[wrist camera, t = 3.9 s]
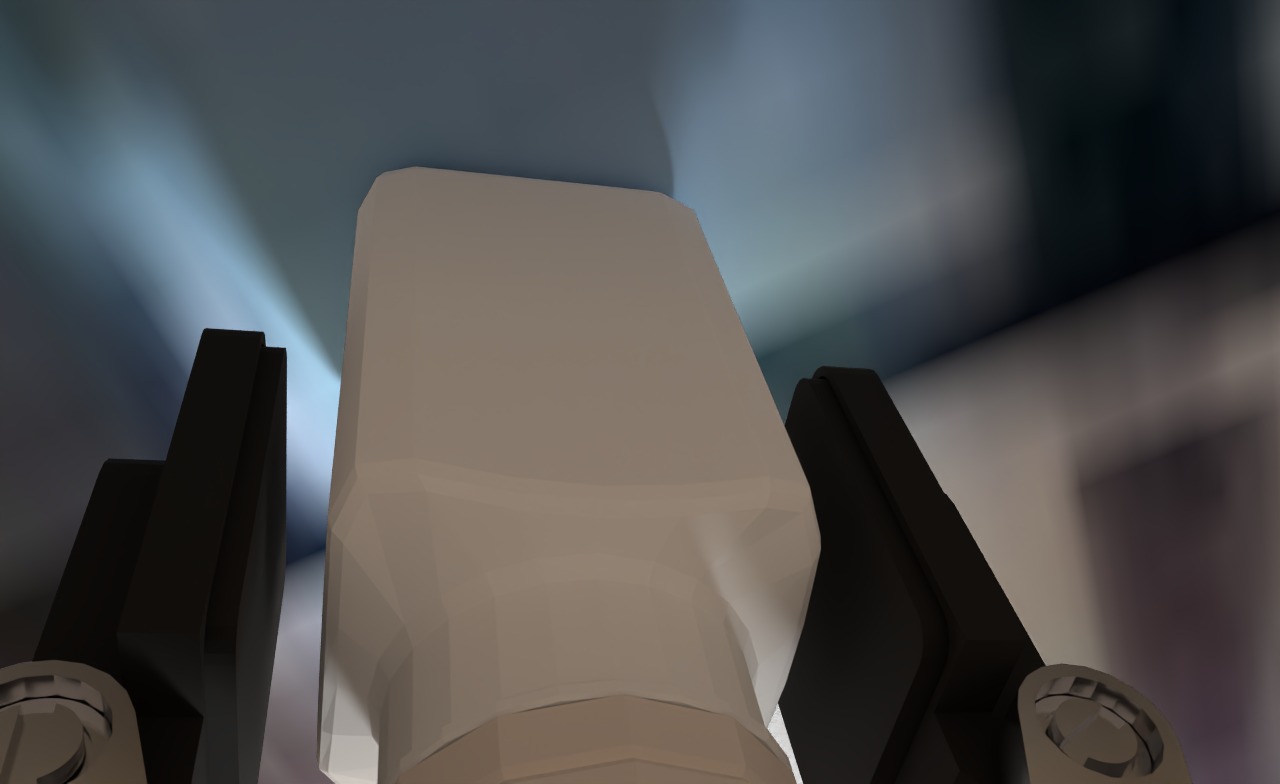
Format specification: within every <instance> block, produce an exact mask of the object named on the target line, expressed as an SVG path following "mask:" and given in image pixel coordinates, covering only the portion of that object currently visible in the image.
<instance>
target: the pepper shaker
mask: <svg viewBox="0 0 1280 784" xmlns="http://www.w3.org/2000/svg"><path fill="white" fill-rule="evenodd" d="M820 551H821V537H820V531H819V527H818V522H817V518H816V513H815V509H814V504H813V500H812V495H811V491H810V486H809V484H808V481H807V479H806V477H805V474H804V472H803V469H802V467H801V465H800V462H799V460H798V457H797V455H796V453H795V450H794V448H793V446H792V443H791V441H790V438H789V436H788V434H787V431H786V429H785V427H784V424H783V422H782V419H781V417H780V415H779V412H778V410H777V407H776V405H775V403H774V400H773V398H772V396H771V393H770V391H769V388H768V386H767V384H766V381H765V379H764V377H763V374H762V372H761V369H760V367H759V365H758V362H757V360H756V357H755V355H754V353H753V350H752V348H751V346H750V343H749V341H748V338H747V336H746V334H745V331H744V329H743V326H742V324H741V322H740V319H739V317H738V315H737V312H736V310H735V307H734V305H733V303H732V300H731V298H730V296H729V293H728V291H727V288H726V286H725V284H724V281H723V279H722V276H721V274H720V272H719V269H718V267H717V265H716V262H715V260H714V257H713V255H712V253H711V250H710V248H709V246H708V243H707V241H706V238H705V236H704V234H703V231H702V229H701V226H700V224H699V222H698V219H697V217H696V215H695V212H694V210H692V209H691V208H689V207H687V206H686V205H684V204H682V203H680V202H678V201H676V200H674V199H672V198H670V197H668V196H666V195H665V194H663V193H660V192H655V191H647V190H638V189H628V188H619V187H609V186H600V185H590V184H580V183H571V182H561V181H552V180H542V179H533V178H523V177H513V176H504V175H494V174H485V173H475V172H465V171H456V170H446V169H436V168H427V167H417V166H414V167H409V168H404V169H399V170H393V171H388V172H384V173H382V174H381V175H380V176H378V177H377V178H376V179H375V181H374V183H373V185H372V187H371V188H370V190H369V192H368V194H367V196H366V197H365V199H364V201H363V203H362V205H361V207H360V208H359V210H358V216H357V227H356V237H355V247H354V257H353V267H352V277H351V287H350V297H349V307H348V317H347V327H346V337H345V347H344V358H343V368H342V378H341V388H340V398H339V408H338V418H337V428H336V438H335V448H334V458H333V468H332V478H331V489H330V499H329V509H328V520H327V538H326V556H325V574H324V592H323V611H322V632H321V652H320V673H319V697H318V724H317V761H318V766H319V769H320V770H321V771H322V772H323V773H324V774H325V775H327V776H328V777H329V778H330V779H331V780H332V781H333V782H334V783H335V784H796V780H795V777H794V774H793V772H792V769H791V765H790V762H789V758H788V757H787V755H786V754H785V753H784V751H783V750H782V749H781V747H780V746H779V744H778V743H777V742H776V740H775V739H774V738H773V736H772V735H771V734H770V732H769V731H768V729H767V728H768V725H769V723H770V721H771V718H772V716H773V713H774V711H775V708H776V706H777V703H778V701H779V698H780V696H781V693H782V691H783V689H784V686H785V684H786V680H787V677H788V674H789V671H790V668H791V664H792V661H793V658H794V655H795V652H796V648H797V645H798V642H799V639H800V635H801V632H802V629H803V626H804V622H805V617H806V613H807V609H808V604H809V600H810V595H811V591H812V587H813V582H814V578H815V573H816V569H817V565H818V560H819V556H820Z"/></svg>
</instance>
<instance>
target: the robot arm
mask: <svg viewBox="0 0 1280 784" xmlns="http://www.w3.org/2000/svg"><path fill="white" fill-rule="evenodd" d="M784 427H785V429H786V431H787V434H788V436H789V438H790V441H791V443H792V446H793V448H794V450H795V453H796V455H797V457H798V460H799V462H800V465H801V467H802V469H803V472H804V474H805V477H806V479H807V481H808V484H809V486H810V491H811V495H812V500H813V504H814V509H815V513H816V518H817V522H818V527H819V531H820V537H821V551H820V556H819V560H818V565H817V569H816V573H815V578H814V582H813V587H812V591H811V595H810V600H809V604H808V609H807V613H806V617H805V622H804V626H803V629H802V632H801V635H800V639H799V642H798V645H797V648H796V652H795V655H794V658H793V661H792V664H791V668H790V671H789V674H788V677H787V680H786V684H785V686H784V689H783V691H782V693H781V696H780V698H779V701H778V705H779V708H780V711H781V714H782V717H783V721H784V724H785V727H786V730H787V733H788V736H789V740H790V743H791V746H792V749H793V752H794V756H795V759H796V762H797V765H798V768H799V772H800V775H801V778H802V781H803V784H1192V781H1191V778H1190V775H1189V772H1188V768H1187V765H1186V762H1185V759H1184V755H1183V752H1182V749H1181V746H1180V743H1179V741H1178V739H1177V737H1176V735H1175V733H1174V731H1173V729H1172V727H1171V725H1170V723H1169V722H1168V721H1167V719H1166V718H1165V717H1164V716H1163V715H1162V714H1161V712H1160V711H1159V710H1158V709H1157V708H1156V706H1155V705H1154V704H1153V703H1151V702H1150V701H1149V700H1148V699H1146V698H1145V697H1144V696H1143V695H1142V694H1140V693H1139V692H1138V691H1137V690H1135V689H1134V688H1133V687H1131V686H1129V685H1127V684H1125V683H1124V682H1122V681H1120V680H1118V679H1116V678H1114V677H1113V676H1111V675H1109V674H1106V673H1103V672H1100V671H1097V670H1094V669H1091V668H1088V667H1085V666H1077V665H1068V664H1057V665H1051V666H1046V665H1045V664H1044V662H1043V660H1042V658H1041V657H1040V655H1039V653H1038V651H1037V650H1036V648H1035V646H1034V644H1033V643H1032V641H1031V639H1030V637H1029V635H1028V634H1027V632H1026V630H1025V628H1024V627H1023V625H1022V623H1021V621H1020V620H1019V618H1018V616H1017V614H1016V612H1015V611H1014V609H1013V607H1012V605H1011V604H1010V602H1009V600H1008V598H1007V597H1006V595H1005V593H1004V591H1003V590H1002V588H1001V586H1000V584H999V582H998V581H997V579H996V577H995V575H994V574H993V572H992V570H991V568H990V567H989V565H988V563H987V561H986V560H985V558H984V556H983V554H982V552H981V551H980V549H979V547H978V545H977V544H976V542H975V540H974V538H973V537H972V535H971V533H970V531H969V529H968V528H967V526H966V524H965V522H964V521H963V519H962V517H961V515H960V514H959V512H958V510H957V508H956V507H955V505H954V503H953V502H952V501H951V499H950V498H949V497H948V496H947V494H945V493H944V492H943V490H942V488H941V487H940V485H939V483H938V481H937V480H936V478H935V476H934V474H933V472H932V471H931V469H930V467H929V465H928V464H927V462H926V460H925V458H924V456H923V455H922V453H921V451H920V449H919V448H918V446H917V444H916V442H915V440H914V439H913V437H912V435H911V433H910V431H909V430H908V428H907V426H906V424H905V423H904V421H903V419H902V417H901V415H900V414H899V412H898V410H897V408H896V407H895V405H894V403H893V401H892V399H891V398H890V396H889V394H888V392H887V391H886V389H885V387H884V385H883V383H882V382H881V380H880V378H879V376H878V375H877V374H876V372H875V371H874V370H871V369H863V368H846V367H830V366H822V367H820V368H818V369H817V371H816V372H815V374H814V375H813V378H812V379H808V378H803V379H801V380H800V381H799V382H798V384H797V386H796V389H795V392H794V395H793V399H792V402H791V406H790V409H789V412H788V416H787V419H786V423H785V426H784ZM286 431H287V353H286V348H279V347H266V342H265V334H264V332H258V331H242V330H226V329H209V328H205V329H204V330H203V333H202V335H201V339H200V342H199V346H198V349H197V353H196V356H195V360H194V363H193V367H192V370H191V374H190V377H189V381H188V384H187V388H186V391H185V395H184V398H183V402H182V405H181V409H180V412H179V416H178V419H177V423H176V426H175V430H174V433H173V437H172V440H171V444H170V447H169V451H168V454H167V458H166V461H161V460H134V459H108V460H107V461H105V462H104V464H103V466H102V468H101V470H100V472H99V475H98V478H97V480H96V483H95V486H94V489H93V492H92V495H91V497H90V500H89V503H88V506H87V509H86V511H85V514H84V517H83V520H82V523H81V526H80V528H79V531H78V534H77V537H76V540H75V542H74V545H73V548H72V551H71V554H70V557H69V559H68V562H67V565H66V568H65V571H64V573H63V576H62V579H61V582H60V585H59V588H58V590H57V593H56V596H55V599H54V602H53V604H52V607H51V610H50V613H49V616H48V619H47V621H46V624H45V627H44V630H43V633H42V635H41V638H40V641H39V644H38V647H37V650H36V652H35V655H34V658H33V661H32V662H26V663H20V664H16V665H13V666H10V667H6V668H3V669H0V784H258V776H259V769H260V762H261V754H262V747H263V739H264V732H265V724H266V717H267V710H268V702H269V695H270V687H271V680H272V672H273V665H274V658H275V650H276V643H277V635H278V628H279V620H280V613H281V606H282V598H283V590H284V581H285V566H286Z"/></svg>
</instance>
